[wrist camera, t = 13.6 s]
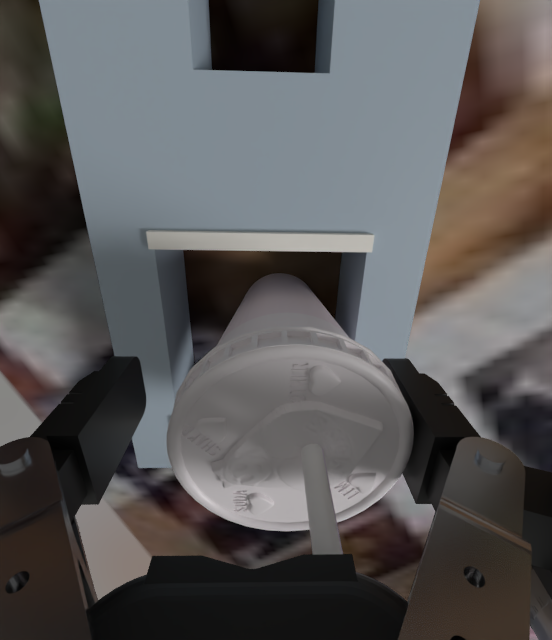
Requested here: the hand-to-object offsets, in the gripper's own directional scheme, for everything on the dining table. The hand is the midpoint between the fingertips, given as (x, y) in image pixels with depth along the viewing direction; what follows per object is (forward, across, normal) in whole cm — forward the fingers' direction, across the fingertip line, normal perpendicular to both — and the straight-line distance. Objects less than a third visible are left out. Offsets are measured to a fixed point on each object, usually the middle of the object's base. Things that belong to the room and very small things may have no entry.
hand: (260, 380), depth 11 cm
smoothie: (+7, -1, 0) cm, 7 cm away
